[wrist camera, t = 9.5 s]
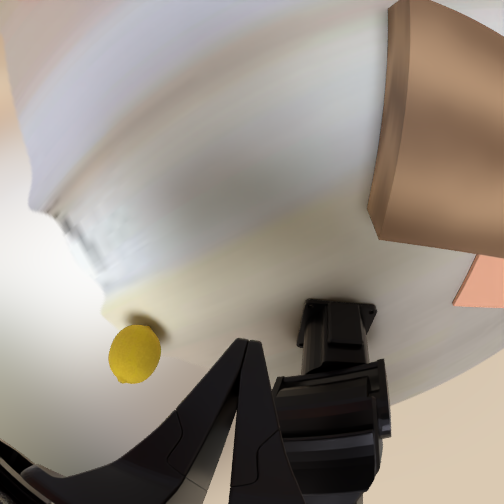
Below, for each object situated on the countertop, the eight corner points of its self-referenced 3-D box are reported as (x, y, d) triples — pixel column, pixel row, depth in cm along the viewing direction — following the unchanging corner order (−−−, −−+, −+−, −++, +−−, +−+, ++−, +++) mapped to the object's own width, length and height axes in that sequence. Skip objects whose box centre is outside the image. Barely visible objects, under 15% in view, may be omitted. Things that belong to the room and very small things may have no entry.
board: (484, 230, 17) (507, 259, 13) (366, 208, 18) (378, 239, 15) (518, 65, 9) (551, 72, 5) (388, 8, 10) (409, -8, 7)
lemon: (176, 344, 32) (152, 400, 25) (138, 338, 33) (113, 388, 26) (160, 312, 28) (130, 373, 22) (121, 307, 30) (88, 361, 23)
